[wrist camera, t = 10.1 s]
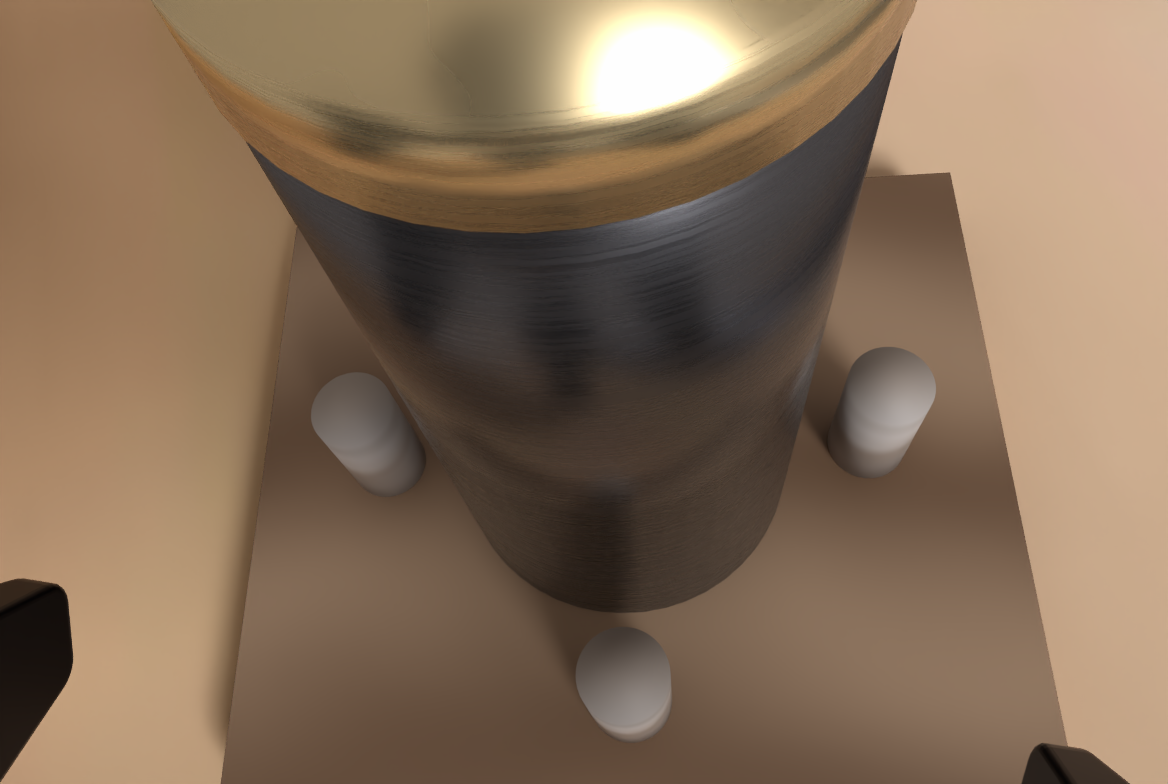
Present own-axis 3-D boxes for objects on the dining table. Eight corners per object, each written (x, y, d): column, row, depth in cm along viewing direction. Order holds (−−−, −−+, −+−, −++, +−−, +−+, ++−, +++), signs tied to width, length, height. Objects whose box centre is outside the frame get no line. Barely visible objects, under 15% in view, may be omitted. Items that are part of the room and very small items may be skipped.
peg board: (1051, 792, 17) (1142, 775, 13) (246, 804, 18) (147, 791, 15) (936, 206, 22) (982, 88, 19) (316, 242, 23) (254, 137, 20)
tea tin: (846, 539, 18) (1162, -92, 6) (525, 669, 17) (190, 258, 6) (706, 272, 20) (738, -531, 9) (425, 378, 20) (53, -316, 8)
